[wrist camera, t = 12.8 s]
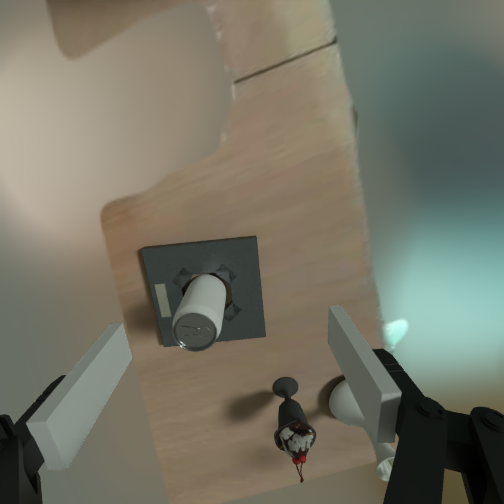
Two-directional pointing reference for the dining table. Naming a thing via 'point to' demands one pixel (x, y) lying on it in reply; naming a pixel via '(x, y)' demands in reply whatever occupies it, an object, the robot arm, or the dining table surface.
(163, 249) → the socket plate
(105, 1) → the dining table surface
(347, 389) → the flower in vase
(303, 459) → the sundae
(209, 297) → the can
